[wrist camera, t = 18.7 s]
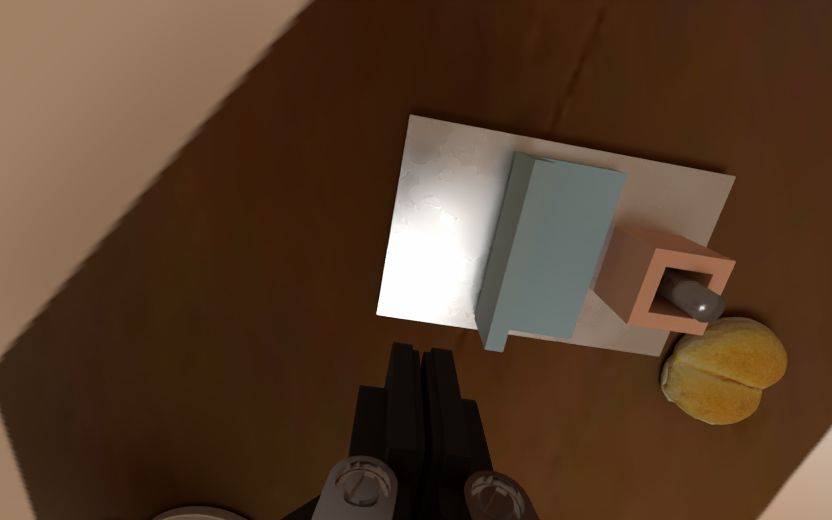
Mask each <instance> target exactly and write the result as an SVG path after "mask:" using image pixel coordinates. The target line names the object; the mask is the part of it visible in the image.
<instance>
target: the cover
mask: <svg viewBox="0 0 832 520" xmlns="http://www.w3.org/2000/svg"><path fill="white" fill-rule="evenodd" d="M627 174H628V173H624V172H621V171H616V170H611V169H606V168H600V167H595V166H590V165H584V164H579V163H574V162H568V161H563V160H558V159H552V158H547V157H541V156H536V155H531V154H525V153H520V152H516V155H515V159H514V163H513V167H512V171H511V175H510V179H509V183H508V187H507V191H506V195H505V198H504V202H503V206H502V210H501V214H500V218H499V222H498V226H497V230H496V234H495V238H494V242H493V246H492V250H491V254H490V258H489V262H488V266H487V270H486V274H485V278H484V282H483V286H482V290H481V294H480V298H479V302H478V306H477V310H476V314H475V318H474V319H475V322H476V325H477V328H478V331H479V334H480V337H481V340H482V343H483V346H484V349H485V350H492V351H499V352H503V350H504V346H505V343H506V339H507V336H508V332H509V330H512V331H519V332H526V333H532V334H539V335H546V336H552V337H559V338H566V339H571V338H572V335H573V332H574V329H575V326H576V323H577V320H578V317H579V314H580V311H581V308H582V306H583V303H584V300H585V297H586V294H587V291H588V288H589V285H590V282H591V279H592V276H593V273H594V270H595V268H596V265H597V262H598V259H599V256H600V253H601V250H602V247H603V244H604V241H605V238H606V235H607V232H608V230H609V227H610V224H611V221H612V218H613V215H614V212H615V209H616V206H617V203H618V200H619V197H620V194H621V191H622V189H623V186H624V183H625V180H626V177H627Z"/></svg>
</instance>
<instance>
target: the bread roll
mask: <svg viewBox="0 0 832 520" xmlns="http://www.w3.org/2000/svg"><path fill="white" fill-rule="evenodd" d="M786 366H787V354H786V351H785V349H784V347H783V345H782V343H781V342H780V340H779V339H778V338H777V337H776V335H775V334H774V333H773V332H772V331H771V330H770V329H769V328H768V327H766V326H765V325H763V324H761V323H759V322H757V321H755V320H752V319H749V318H743V317H724V318H720V319H716V320H714V321H712V322H708V325H707V327H706V329H705V331H704V334H703V336H702V335H695V334H688V333H686V334H685V335H684V336H683V337H682V338H681V339H680V340H679V341H678V343H677V344H676V345H675V347H674V351H673V354H672V356H670V357H669V358H668V359H667V360H666V362H665V364H664V366H663V370H662V374H661V384H660V385H661V389H662V391H663V393H664V395H665V396H666V398H667V400H668V401H671V402H675V403H676V404H677V405H678V406H679V407H680V408H681V409H682V410H684V411H685V412H686V413H687V414H689V415H691V416H692V417H694V418H696V419H700V420H701V421H704V422H707V423H709V424H712V425H714V424H731V423H736V422H738V421H741V420H743V419H745V418H747V417H749V416H750V415H751V414H752V413H753V412H754V411H755V410H756V409H757V407H758V405H759V403H760V399H761V393H762V389H765V388H767V387H769V386H771V385H772V384H774V383H776V382H777V381H778V380H780V379H781V378H782V376H783V375H784V373H785V370H786Z"/></svg>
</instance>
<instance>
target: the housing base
mask: <svg viewBox="0 0 832 520" xmlns="http://www.w3.org/2000/svg"><path fill="white" fill-rule="evenodd" d="M516 152H520V153H525V154H531V155H536V156H541V157H547V158H552V159H558V160H563V161H568V162H574V163H579V164H584V165H590V166H595V167H600V168H606V169H611V170H616V171H621V172H624V173H628V174H627V177H626V180H625V183H624V186H623V189H622V191H621V194H620V197H619V200H618V203H617V206H616V209H615V212H614V215H613V218H612V221H611V224H610V227H609V230H608V232H607V235H606V238H605V241H604V244H603V247H602V250H601V253H600V256H599V259H598V262H597V265H596V268H595V270H594V273H593V276H592V279H591V282H590V285H589V288H588V291H587V294H586V297H585V300H584V303H583V306H582V308H581V311H580V314H579V317H578V320H577V323H576V326H575V329H574V332H573V335H572V338H571V339H566V338H559V337H552V336H546V335H539V334H532V333H526V332H519V331H512V330H509V332H508V334H510V335H517V336H524V337H531V338H537V339H544V340H551V341H558V342H564V343H571V344H578V345H585V346H591V347H598V348H605V349H612V350H619V351H625V352H632V353H639V354H646V355H652V356H660V354H661V351H662V349H663V347H664V344H665V342H666V340H667V337H668V335H669V333H670V331H668V330H661V329H655V328H648V327H641V326H634V325H628V324H626V323H625V322H624V321H623V320H622V319H621V318H620V317H619V316H618V315H617V314H616V313H615V312H614V311H613V310H612V309H611V308H610V307H609V306H608V305H607V304H606V303H605V302H604V301H602V300H601V299H600V298H599V297H598V296H597V295H596V294H595V293H594V292H593V290H594V287H595V284H596V281H597V278H598V275H599V272H600V269H601V267H602V264H603V261H604V258H605V255H606V252H607V249H608V246H609V243H610V240H611V237H612V234H613V231H614V228H615V225H616V226H622V227H628V228H634V229H640V230H646V231H652V232H658V233H664V234H670V235H676V236H681V237H685V238H687V239H689V240H691V241H693V242H696V243H698V244H700V245H702V246H704V247H706V246H707V244H708V241H709V239H710V236H711V234H712V232H713V229H714V227H715V225H716V222H717V220H718V218H719V215H720V213H721V211H722V208H723V206H724V204H725V201H726V199H727V197H728V194H729V192H730V190H731V187H732V185H733V183H734V180H735V178H736V177H735V176H730V175H726V174H721V173H716V172H710V171H705V170H700V169H695V168H689V167H684V166H679V165H674V164H668V163H663V162H658V161H652V160H647V159H642V158H637V157H631V156H626V155H621V154H616V153H610V152H605V151H600V150H595V149H589V148H584V147H579V146H574V145H568V144H563V143H558V142H553V141H547V140H542V139H537V138H532V137H526V136H521V135H516V134H511V133H505V132H500V131H495V130H490V129H484V128H479V127H474V126H469V125H463V124H458V123H453V122H448V121H442V120H437V119H432V118H427V117H421V116H416V115H411V114H410V116H409V122H408V128H407V134H406V140H405V146H404V152H403V158H402V164H401V170H400V176H399V182H398V188H397V194H396V200H395V206H394V212H393V218H392V224H391V230H390V236H389V242H388V248H387V254H386V260H385V266H384V272H383V278H382V284H381V290H380V296H379V302H378V308H377V315H382V316H389V317H396V318H402V319H409V320H416V321H423V322H429V323H436V324H443V325H450V326H456V327H463V328H470V329H477V330H478V328H477V325H476V322H475V319H474V318H475V314H476V310H477V306H478V302H479V298H480V294H481V290H482V286H483V282H484V278H485V274H486V270H487V266H488V262H489V258H490V254H491V250H492V246H493V242H494V238H495V234H496V230H497V226H498V222H499V218H500V214H501V210H502V206H503V202H504V198H505V195H506V191H507V187H508V183H509V179H510V175H511V171H512V167H513V163H514V159H515V155H516ZM657 292H659V293H660V294H661V295H663V296H664V297H666V298H667V299H668V300H670V301H671V302H672V303H674V304H675V305H676V306H678V307H679V308H681V309H682V310H683V311H685V312H686V313H687V314H689V315H690V316H692V317H693V318H694V319H696V320H697V321H699V322H702V323H708V322H712V321H714V320H716V319H717V318H718V317H720V315H721V314H722V313H723V311H724V309H725V301H724V299H723V297H722V296H720V295H718V294H717V293H715V292H713V291H712V290H710V289H708V288H707V287H705V286H703V285H702V284H700V283H698V282H697V281H695V280H693V279H692V278H690V277H688V276H687V275H685V274H683V273H682V272H680V271H678V270H677V269H675V268H671V267H666V268H665V270H664V273H663V276H662V278H661V281H660V283H659V286H658V288H657Z"/></svg>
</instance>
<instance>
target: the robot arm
mask: <svg viewBox="0 0 832 520" xmlns="http://www.w3.org/2000/svg"><path fill="white" fill-rule="evenodd" d="M152 520H247V519H245V518H243V517H241V516H239V515H237V514H235V513H233V512H229V511H226V510H223V509H219V508H213V507H208V506H189V507H180V508H176V509H173V510H169V511H166V512H164V513H162V514H160V515H158V516H156V517H155V518H153V519H152ZM281 520H539V517H538V515H537V513H536V511H535V509H534V507H533V505H532V503H531V501H530V499H529V497H528V495H527V494H526V492H525V491H524V489H523V488H522V487H521V486H520V485H519V484H518V483H517V482H516V481H515V480H513V479H511V478H510V477H508V476H507V475H504V474H502V473H499V472H496V471H493V467H492V463H491V459H490V455H489V451H488V447H487V443H486V439H485V435H484V431H483V427H482V423H481V419H480V415H479V411H478V407H477V404H476V401H474V400H469V399H461V394H460V389H459V384H458V379H457V374H456V369H455V364H454V359H453V354H452V351H451V350H445V349H438V348H432V349H431V352H424V354H423V358H422V363H421V367H420V357H419V351H416V350H413V347H412V345H410V344H403V343H396V342H393V345H392V350H391V355H390V360H389V366H388V371H387V377H386V382H385V387H384V388H379V387H371V386H364V385H360V387H359V393H358V399H357V406H356V412H355V418H354V424H353V431H352V437H351V443H350V450H349V456H348V458H346V459H344V460H341V461H340V462H339V463H338V464H336V465H335V466H334V467H333V469H332V470H331V472H330V474H329V476H328V478H327V481H326V483H325V486H324V488H323V491H322V493H321V495H319V496H318V497H316V498H314V499H313V500H311V501H310V502H308V503H306V504H305V505H303V506H302V507H300V508H298V509H297V510H295V511H294V512H292V513H290V514H289V515H287V516H286V517H284V518H282V519H281Z"/></svg>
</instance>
